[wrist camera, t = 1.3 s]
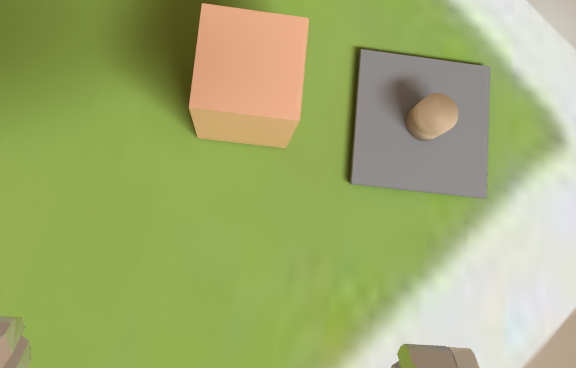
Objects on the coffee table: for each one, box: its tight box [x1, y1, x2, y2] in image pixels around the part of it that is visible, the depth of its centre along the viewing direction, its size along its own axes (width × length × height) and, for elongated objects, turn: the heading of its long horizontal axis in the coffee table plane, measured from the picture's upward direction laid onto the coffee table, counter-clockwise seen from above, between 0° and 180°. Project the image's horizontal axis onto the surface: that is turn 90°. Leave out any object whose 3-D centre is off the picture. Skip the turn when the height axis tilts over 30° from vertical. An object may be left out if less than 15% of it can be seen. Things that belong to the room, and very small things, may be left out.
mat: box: [350, 49, 490, 198], centre depth 39 cm, size 11×11×1 cm
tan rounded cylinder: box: [405, 93, 458, 141], centre depth 38 cm, size 3×3×3 cm
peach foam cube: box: [189, 3, 309, 148], centre depth 34 cm, size 7×7×8 cm
